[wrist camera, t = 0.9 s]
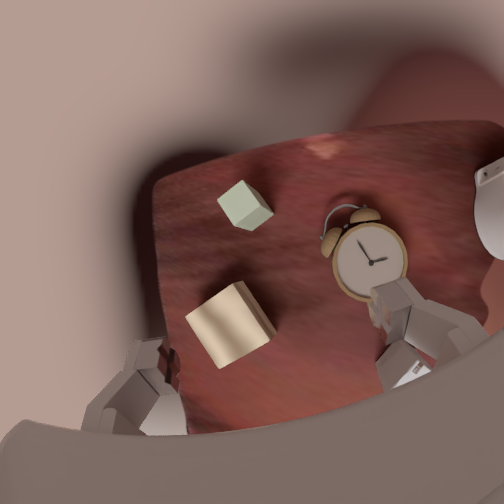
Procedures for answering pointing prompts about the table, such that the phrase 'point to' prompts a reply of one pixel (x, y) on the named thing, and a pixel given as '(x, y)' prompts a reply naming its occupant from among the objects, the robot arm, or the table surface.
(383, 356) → the skincare box
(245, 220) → the sage block
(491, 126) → the table surface
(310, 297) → the table surface
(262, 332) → the birch block
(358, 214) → the alarm clock
